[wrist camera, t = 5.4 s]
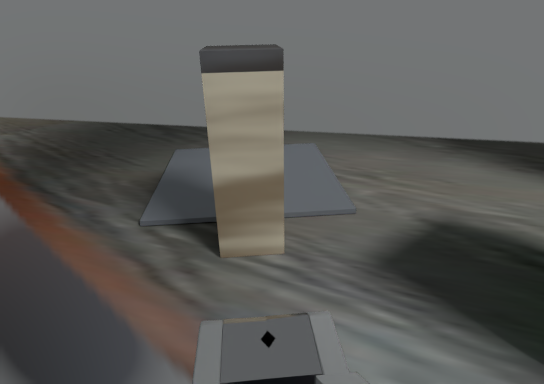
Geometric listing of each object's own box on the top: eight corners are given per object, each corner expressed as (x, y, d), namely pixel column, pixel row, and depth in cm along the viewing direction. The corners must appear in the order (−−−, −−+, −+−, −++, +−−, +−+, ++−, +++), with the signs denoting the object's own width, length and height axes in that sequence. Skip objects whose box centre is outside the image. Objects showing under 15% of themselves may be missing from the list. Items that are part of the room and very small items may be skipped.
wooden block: (284, 253, 22) (283, 48, 17) (220, 257, 22) (199, 51, 16) (277, 221, 25) (275, 44, 20) (223, 224, 25) (206, 46, 20)
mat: (355, 213, 26) (356, 208, 26) (140, 226, 25) (139, 221, 25) (314, 146, 41) (314, 143, 40) (176, 152, 40) (175, 149, 39)
